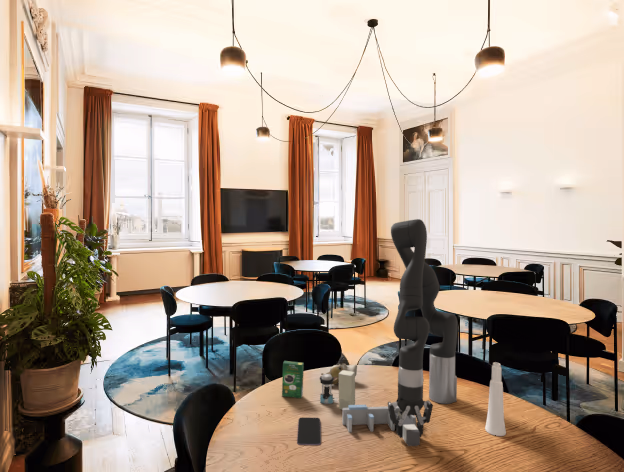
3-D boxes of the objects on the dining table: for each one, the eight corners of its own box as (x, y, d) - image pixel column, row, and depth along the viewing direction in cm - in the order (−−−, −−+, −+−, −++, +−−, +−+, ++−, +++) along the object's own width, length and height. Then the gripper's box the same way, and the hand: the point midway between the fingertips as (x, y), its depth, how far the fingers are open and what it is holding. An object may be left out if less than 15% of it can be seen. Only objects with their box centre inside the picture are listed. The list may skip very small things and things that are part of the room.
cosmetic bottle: (507, 438, 116) (508, 367, 116) (485, 434, 118) (487, 365, 118) (504, 428, 122) (505, 361, 122) (484, 425, 124) (485, 359, 124)
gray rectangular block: (394, 425, 123) (395, 413, 123) (405, 425, 123) (405, 412, 123) (407, 446, 111) (408, 432, 111) (419, 445, 112) (420, 431, 111)
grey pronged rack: (411, 420, 127) (412, 403, 127) (418, 429, 121) (419, 411, 120) (342, 422, 124) (342, 405, 124) (345, 432, 118) (345, 414, 118)
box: (355, 407, 136) (356, 371, 135) (351, 412, 132) (352, 375, 131) (341, 404, 138) (342, 369, 138) (337, 409, 134) (338, 373, 134)
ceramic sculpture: (360, 365, 154) (324, 368, 152) (361, 386, 154) (325, 389, 152) (353, 357, 164) (320, 360, 162) (354, 376, 164) (321, 380, 162)
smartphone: (296, 444, 111) (298, 417, 126) (296, 447, 111) (298, 420, 126) (321, 444, 111) (320, 417, 126) (321, 448, 111) (320, 420, 126)
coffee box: (303, 395, 144) (304, 361, 144) (302, 398, 142) (302, 364, 141) (283, 393, 146) (284, 360, 146) (281, 396, 143) (282, 362, 143)
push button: (337, 399, 142) (337, 373, 141) (337, 405, 136) (337, 378, 136) (319, 398, 142) (319, 372, 142) (319, 405, 137) (319, 378, 136)
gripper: (428, 376, 119) (427, 428, 119) (384, 377, 118) (383, 430, 118) (438, 385, 112) (437, 441, 112) (391, 386, 110) (390, 443, 110)
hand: (409, 435), depth 115 cm, fingers open, 5 cm apart
